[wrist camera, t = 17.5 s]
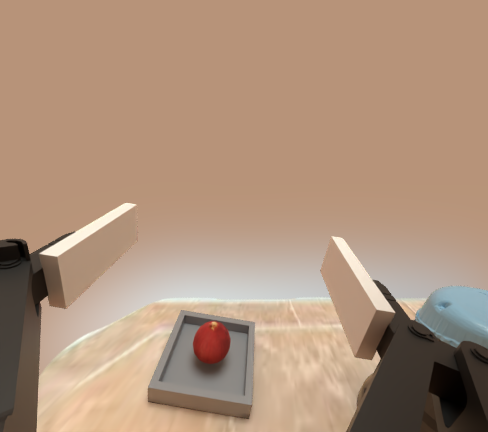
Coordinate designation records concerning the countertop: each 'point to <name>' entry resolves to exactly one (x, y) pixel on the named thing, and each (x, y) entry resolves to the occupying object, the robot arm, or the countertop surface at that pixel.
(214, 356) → the onion
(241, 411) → the bin
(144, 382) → the countertop surface
